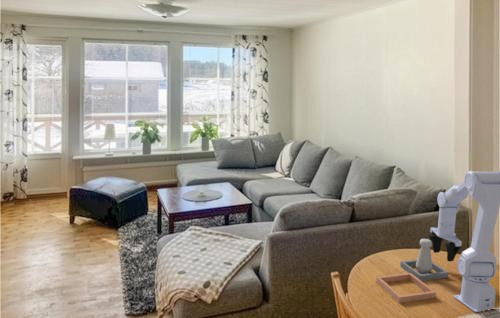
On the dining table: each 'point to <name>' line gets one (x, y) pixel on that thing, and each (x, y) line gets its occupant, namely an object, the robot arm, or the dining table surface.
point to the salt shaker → (424, 257)
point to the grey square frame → (439, 274)
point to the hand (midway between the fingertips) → (443, 256)
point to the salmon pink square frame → (409, 297)
